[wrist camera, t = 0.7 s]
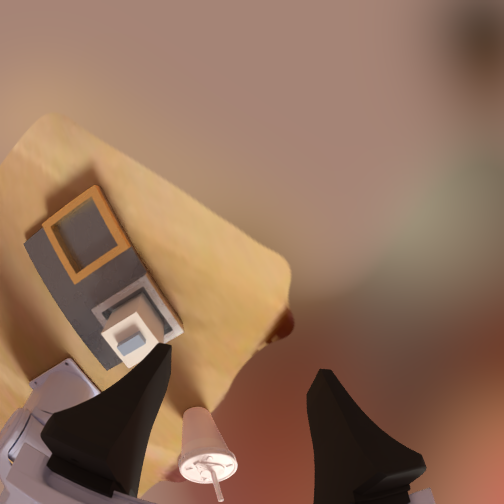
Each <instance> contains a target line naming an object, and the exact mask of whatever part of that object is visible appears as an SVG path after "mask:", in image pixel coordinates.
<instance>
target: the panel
mask: <svg viewBox="0 0 504 504" xmlns="http://www.w3.org/2000/svg"><path fill="white" fill-rule="evenodd" d="M42 226H43V228H41V229H40V230H39V231H38V232H37V233H35V234H34V235H33V236H32V237H31V238H29V239H28V240H27V241H26V242H25V243H24V246H25V248H26V250H27V252H28V254H29V256H30V258H31V260H32V262H33V264H34V266H35V267H36V269H37V271H38V273H39V275H40V276H41V278H42V280H43V282H44V283H45V285H46V287H47V288H48V290H49V292H50V293H51V295H52V297H53V298H54V300H55V301H56V303H57V304H58V306H59V308H60V309H61V311H62V312H63V314H64V315H65V317H66V318H67V319H68V321H69V322H70V324H71V325H72V327H73V328H74V329H75V331H76V332H77V334H78V335H79V336H80V338H81V339H82V340H83V342H84V343H85V344H86V346H87V347H88V348H89V349H90V351H91V352H92V353H93V354H94V356H95V357H96V358H97V359H98V361H99V362H100V363H101V364H102V365H103V367H104V368H105V369H106V370H109V369H111V368H113V367H114V366H116V365H118V364H120V363H121V362H123V361H122V360H121V359H120V358H119V356H118V355H117V354H116V353H115V351H114V350H113V349H112V348H111V346H110V345H109V344H108V342H107V341H106V340H105V339H104V337H103V336H102V335H101V333H102V331H103V329H104V327H105V325H106V323H107V321H108V319H109V317H110V315H111V313H112V311H113V310H114V309H116V308H117V307H119V306H120V305H122V304H124V303H125V302H127V301H128V300H130V299H132V298H133V297H135V296H136V295H138V294H139V293H141V292H143V293H144V294H145V296H146V297H147V299H148V300H149V302H150V303H151V305H152V306H153V307H154V309H155V310H156V312H157V313H158V315H159V316H160V317H161V319H162V320H163V322H164V344H165V343H167V342H168V341H170V340H172V339H173V338H175V337H177V336H178V335H180V334H182V333H184V327H183V322H182V321H181V320H180V318H179V317H178V315H177V314H176V312H175V311H174V309H173V308H172V307H171V305H170V304H169V302H168V301H167V299H166V298H165V296H164V295H163V293H162V292H161V290H160V288H159V287H158V285H157V284H156V282H155V281H154V279H153V278H152V276H151V274H150V273H149V271H148V270H147V268H146V266H145V265H144V263H143V262H142V260H141V258H140V257H139V255H138V253H137V252H136V250H135V248H134V247H133V245H132V243H131V241H130V240H129V238H128V236H127V235H126V233H125V231H124V229H123V228H122V226H121V224H120V222H119V220H118V219H117V217H116V215H115V213H114V211H113V209H112V207H111V206H110V204H109V202H108V200H107V198H106V196H105V194H104V192H103V190H102V188H101V187H100V186H97V185H93V186H92V187H90V188H89V189H87V190H86V191H85V192H83V193H82V194H80V195H79V196H78V197H76V198H75V199H73V200H72V201H71V202H69V203H68V204H67V205H65V206H64V207H63V208H61V209H60V210H59V211H58V212H56V213H55V214H54V215H52V216H51V217H50V218H49V219H47V220H46V221H45V222H44V223H43V224H42Z"/></svg>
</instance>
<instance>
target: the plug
mask: <svg viewBox="0 0 504 504" xmlns="http://www.w3.org/2000/svg"><path fill="white" fill-rule="evenodd" d="M101 335H102V336H103V337H104V339H105V340H106V341H107V342H108V344H109V345H110V346H111V348H112V349H113V350H114V351H115V353H116V354H117V355H118V356H119V358H120V359H121V360H122V361H123V362H124V364H125V365H126V366H127V367H128V368H130V367H132V366H134V365H136V364H137V363H139V362H141V361H142V360H143V359H144V358H145V357H146V356H147V355H148V354H149V352H150V351H151V350H152V349H153V348H154V347H155V346H156V344H157V343H159V342H160V343H164V322H163V320H162V319H161V317H160V316H159V315H158V313H157V312H156V310H155V309H154V307H153V306H152V305H151V303H150V302H149V300H148V299H147V297H146V296H145V294H144V293H143V292H141V293H139V294H138V295H136V296H135V297H133V298H132V299H130V300H128V301H127V302H125V303H124V304H122V305H120V306H119V307H117V308H116V309H114V310H113V311H112V313H111V315H110V317H109V319H108V321H107V323H106V325H105V327H104V329H103V331H102V333H101Z"/></svg>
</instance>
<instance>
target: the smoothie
mask: <svg viewBox="0 0 504 504" xmlns="http://www.w3.org/2000/svg"><path fill="white" fill-rule="evenodd" d="M178 465H179V468H180V472H181V474H182V476H183V477H185V478H186V479H188V480H190V481H193V482H197V483H213V484H214V487H215V491H216V494H217V498H218V501H220V502H222V501H224V499H223V496H222V492H221V489H220V486H219V483H218V482H219V481H222V480H224V479H227V478H228V477H230V476H231V475H232V474H233V473H235V471H236V469H237V461H236V457H235V456H234V454H233V453H232V452H230V451H229V450H228V448H227V446H226V444H225V442H224V440H223V438H222V436H221V434H220V433H219V431H218V429H217V427H216V425H215V423H214V421H213V419H212V417H211V414H210V412H209V411H208V410H207V409H205V408H202V407H192V408H189V409H187V410H186V411H185V412H184V414H183V427H182V451H181V458H180V460H179V463H178Z"/></svg>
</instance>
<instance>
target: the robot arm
mask: <svg viewBox="0 0 504 504" xmlns="http://www.w3.org/2000/svg"><path fill="white" fill-rule="evenodd" d="M171 351H172V345H168V344H164V343H160V342H159V343H157V344H156V346H155V347H154V348H153V349H152V350H151V351H150V352H149V354H148V355H147V356H146V357H145V358H144V359H143V360H142V361H141V362H140V363H139V364H138V365H137V366H135V367H134V368H133V369H132V370H131V371H130V372H129V373H128V374H126V375H125V376H124V377H123V378H122V379H120V380H119V381H118V382H116V383H115V384H114V385H112V386H111V387H109V388H108V389H106V390H105V391H103V392H100V391H99V390H98V389H97V387H96V386H95V385H94V384H93V383H92V382H91V381H90V380H89V379H88V377H87V376H86V375H85V374H84V373H83V372H82V370H81V369H80V368H79V367H78V366H77V364H76V363H75V362H74V361H73V360H72V359H71V358H67V359H65V360H64V361H62V362H61V363H59V364H57V365H56V366H54V367H53V368H51V369H49V370H48V371H46V372H45V373H43V374H41V375H40V376H38V377H37V378H35V379H33V380H32V381H30V383H29V385H30V387H31V388H32V389H33V391H32V393H31V394H30V396H29V398H28V399H27V401H26V403H25V405H24V406H23V408H18V409H17V410H16V411H15V412H14V413H13V414H12V415H11V417H10V418H9V419H8V421H7V422H6V424H5V425H4V427H3V429H2V430H1V432H0V479H1V481H2V483H3V485H4V489H3V491H2V493H1V496H0V504H156V503H152V502H149V501H145V500H142V499H138V498H137V494H138V488H139V482H140V476H141V471H142V466H143V461H144V457H145V452H146V448H147V444H148V440H149V436H150V432H151V429H152V426H153V424H154V421H155V418H156V416H157V413H158V411H159V408H160V406H161V403H162V401H163V398H164V396H165V393H166V390H167V386H168V383H169V379H170V375H171ZM66 362H67V363H68V364H69V365H68V364H66ZM36 382H37V383H36ZM307 414H308V420H309V426H310V431H311V437H312V442H313V449H314V462H315V488H314V503H313V504H435V500H434V497H433V494H432V492H431V488H427V489H424V490H421V491H418V492H415V493H412V494H410V495H408V491H409V490H410V485H409V484H410V483H411V482H413V481H414V480H415V479H416V478H418V477H419V476H420V475H422V474H423V473H424V472H425V470H426V465H425V462H424V460H423V457H422V455H421V454H419V453H417V452H415V451H413V450H411V449H409V448H407V447H406V446H404V445H402V444H401V443H399V442H398V441H396V440H395V439H393V438H392V437H390V436H389V435H388V434H387V433H385V432H384V431H382V430H381V429H380V428H379V427H378V426H377V425H376V424H375V423H374V422H373V421H371V419H370V418H369V417H368V416H367V415H366V414H365V413H364V412H363V411H362V410H361V409H360V407H359V406H358V405H357V404H356V403H355V402H354V400H353V399H352V398H351V396H350V395H349V394H348V393H347V391H346V390H345V388H344V387H343V386H342V384H341V383H340V382H339V380H338V379H337V377H336V376H335V375H334V373H333V372H332V370H328V369H319V371H318V374H317V375H316V378H315V379H314V381H313V383H312V385H311V387H310V389H309V391H308V393H307ZM8 458H9V459H10V460H11V461H12V462H14V463H13V465H12V464H11V463H10V461H9V460H8Z"/></svg>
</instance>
